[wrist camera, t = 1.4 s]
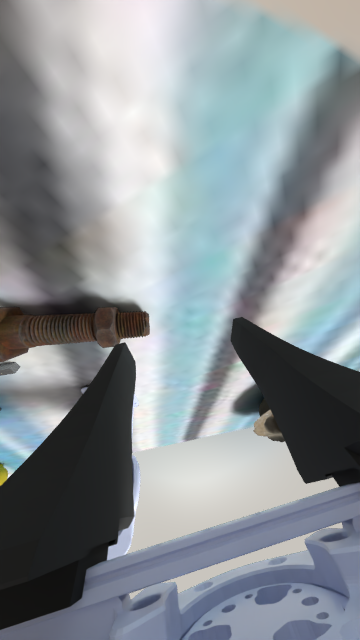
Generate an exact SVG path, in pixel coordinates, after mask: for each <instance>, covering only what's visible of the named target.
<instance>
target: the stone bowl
mask: <svg viewBox="0 0 360 640" xmlns="http://www.w3.org/2000/svg"><path fill="white" fill-rule="evenodd" d="M259 414H260V418H259V419H258V420H257V421H256V422H255V423H254V427H255V430H254V432H255V433H256V434H257V435H259V436H267V437H268V438H269V439H271V440H273V441H280V442H284V441H285V439H284V437H283V435H282V433H281V431H280V429H279V427H278V424H277V422H276V420H275V418H274V416H273V414H272V412H271V410H270V408H269V406H268V404H267V402H266V400H265V398H264V399H263V400H262V402H261V404H260V406H259Z"/></svg>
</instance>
